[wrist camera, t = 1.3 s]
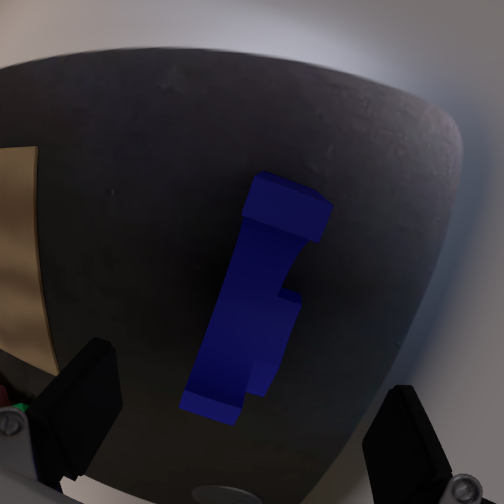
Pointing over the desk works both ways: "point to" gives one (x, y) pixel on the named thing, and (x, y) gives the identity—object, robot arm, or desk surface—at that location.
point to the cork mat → (22, 263)
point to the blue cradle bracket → (255, 298)
